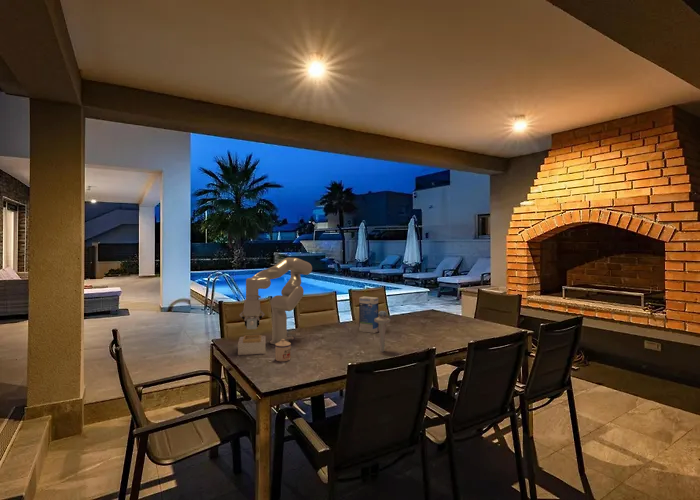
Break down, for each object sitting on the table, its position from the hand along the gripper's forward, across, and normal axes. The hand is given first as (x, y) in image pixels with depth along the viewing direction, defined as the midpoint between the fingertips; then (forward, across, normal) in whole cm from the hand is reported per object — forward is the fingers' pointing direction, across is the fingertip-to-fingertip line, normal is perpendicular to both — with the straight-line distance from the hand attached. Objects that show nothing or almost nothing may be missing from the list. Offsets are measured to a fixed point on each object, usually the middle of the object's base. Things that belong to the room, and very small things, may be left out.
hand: (252, 326), depth 236 cm
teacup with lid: (+15, -19, +20) cm, 32 cm away
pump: (+1, 0, +1) cm, 2 cm away
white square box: (+15, 0, 0) cm, 15 cm away
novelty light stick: (+15, -79, +17) cm, 82 cm away
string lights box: (+15, -84, -35) cm, 93 cm away
